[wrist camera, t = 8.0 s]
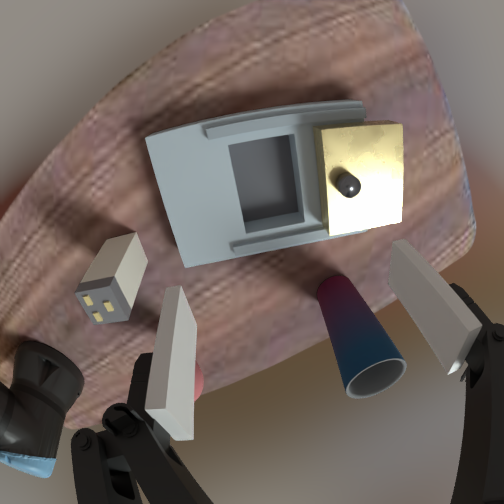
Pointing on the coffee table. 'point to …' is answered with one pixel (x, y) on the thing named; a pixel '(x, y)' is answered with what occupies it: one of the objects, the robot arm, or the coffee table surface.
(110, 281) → the plug
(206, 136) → the socket board
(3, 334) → the coffee table surface
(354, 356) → the cup
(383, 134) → the panel
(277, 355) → the coffee table surface
